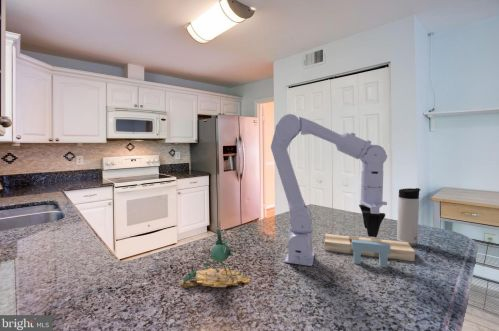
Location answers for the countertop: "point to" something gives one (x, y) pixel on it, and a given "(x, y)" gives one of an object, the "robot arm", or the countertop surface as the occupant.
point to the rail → (345, 246)
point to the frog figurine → (215, 276)
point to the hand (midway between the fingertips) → (370, 232)
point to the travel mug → (408, 215)
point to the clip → (371, 250)
